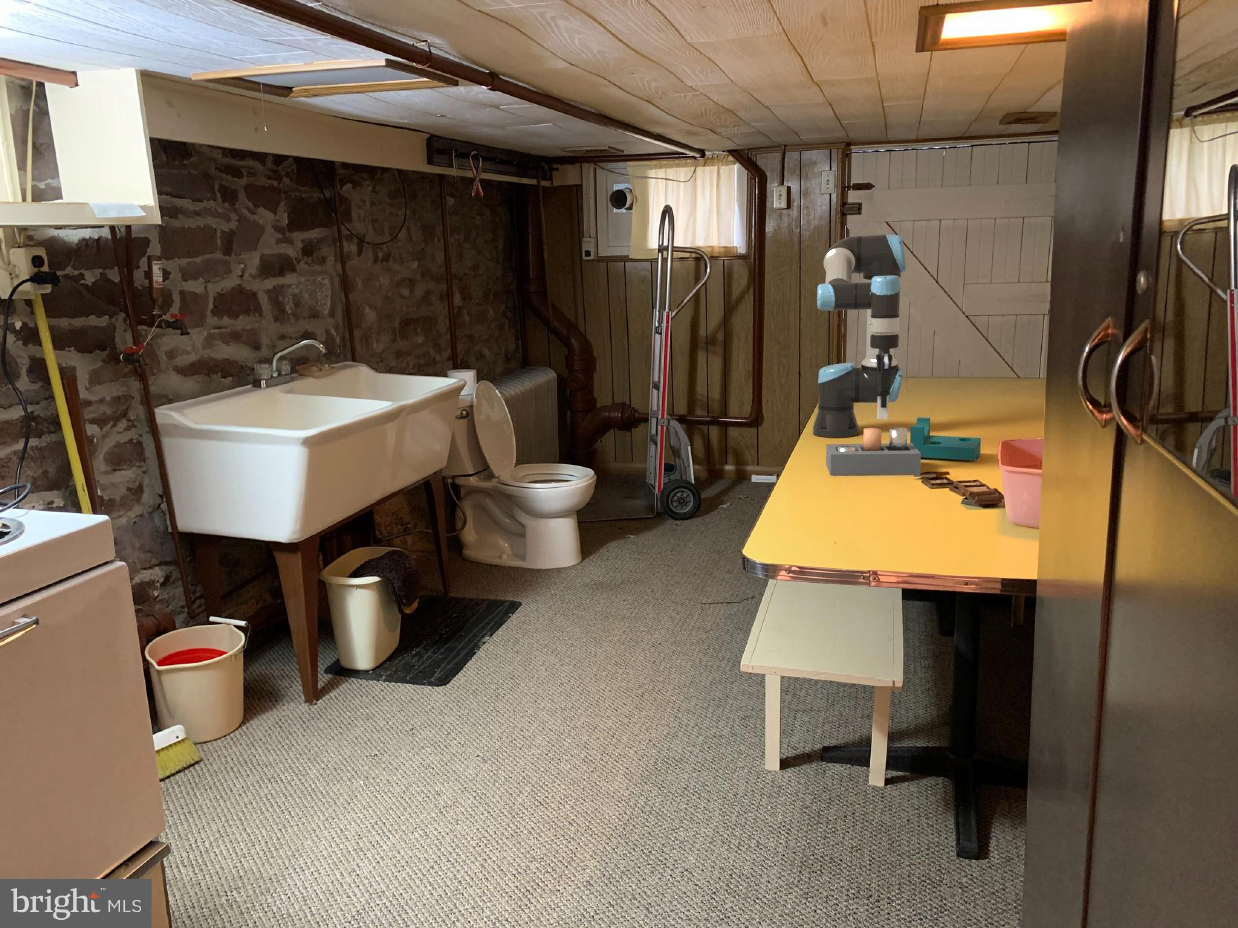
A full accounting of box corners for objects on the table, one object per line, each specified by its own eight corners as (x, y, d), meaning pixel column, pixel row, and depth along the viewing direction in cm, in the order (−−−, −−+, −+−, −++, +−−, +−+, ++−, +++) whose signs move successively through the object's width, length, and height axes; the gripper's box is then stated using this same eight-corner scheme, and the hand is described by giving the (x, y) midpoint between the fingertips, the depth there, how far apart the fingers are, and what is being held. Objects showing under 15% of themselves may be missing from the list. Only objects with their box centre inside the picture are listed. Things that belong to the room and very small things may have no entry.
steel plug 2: (887, 449, 266) (888, 427, 265) (905, 448, 265) (905, 427, 264) (890, 452, 261) (890, 430, 260) (908, 452, 261) (908, 430, 259)
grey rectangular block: (826, 464, 274) (826, 444, 272) (911, 463, 271) (911, 443, 269) (830, 475, 260) (830, 454, 259) (920, 474, 257) (920, 453, 256)
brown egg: (862, 449, 267) (862, 428, 266) (879, 449, 266) (880, 427, 265) (864, 453, 262) (864, 431, 261) (882, 452, 262) (882, 430, 260)
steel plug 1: (836, 466, 269) (837, 445, 268) (854, 466, 268) (854, 445, 267) (838, 470, 264) (838, 449, 263) (856, 470, 264) (856, 448, 262)
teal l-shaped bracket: (909, 461, 277) (910, 426, 274) (917, 450, 286) (917, 417, 283) (974, 465, 268) (975, 430, 265) (980, 454, 277) (981, 420, 274)
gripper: (868, 331, 264) (866, 414, 269) (872, 336, 251) (871, 423, 256) (895, 331, 262) (893, 414, 267) (901, 335, 250) (899, 422, 255)
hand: (882, 418), depth 262 cm, fingers closed
